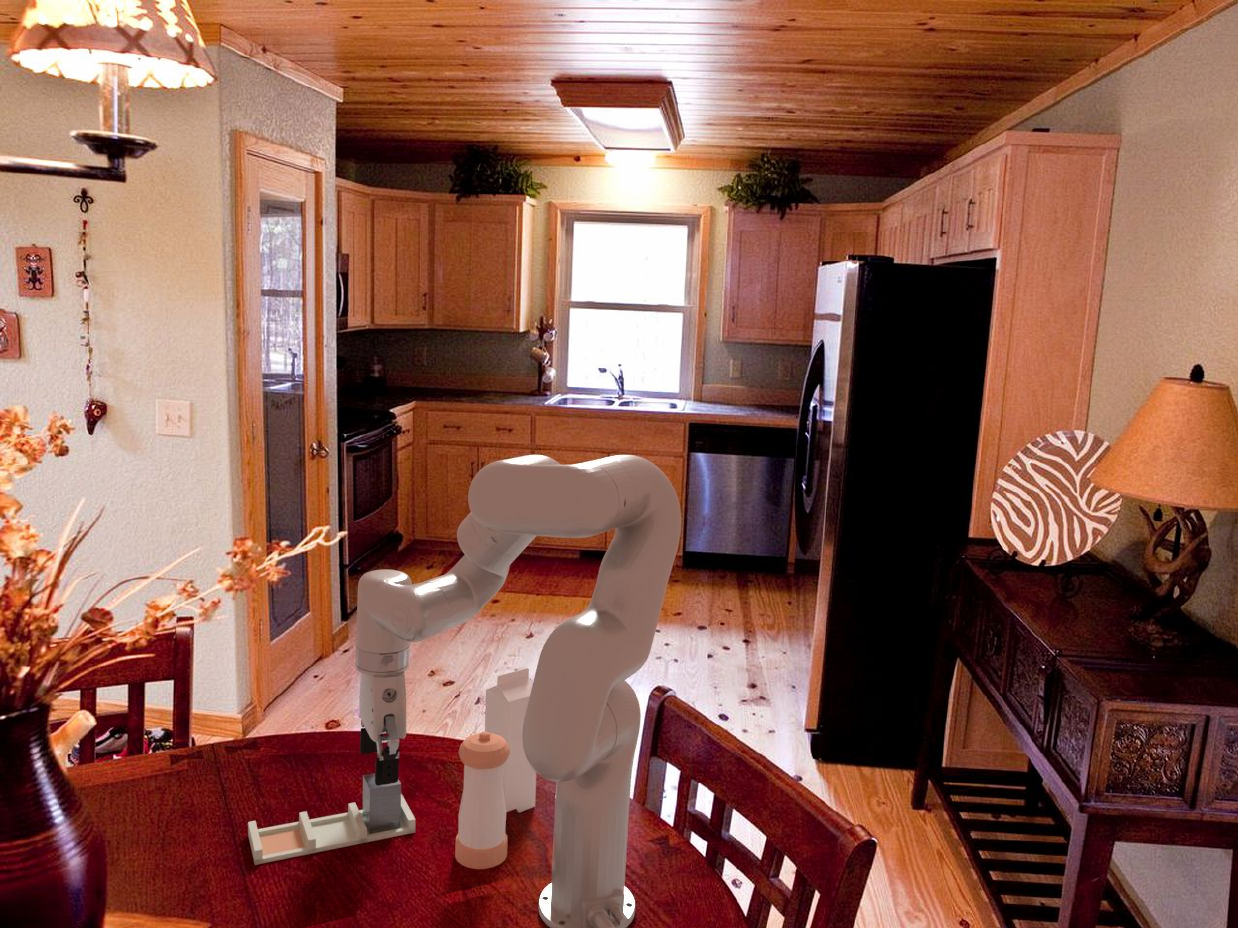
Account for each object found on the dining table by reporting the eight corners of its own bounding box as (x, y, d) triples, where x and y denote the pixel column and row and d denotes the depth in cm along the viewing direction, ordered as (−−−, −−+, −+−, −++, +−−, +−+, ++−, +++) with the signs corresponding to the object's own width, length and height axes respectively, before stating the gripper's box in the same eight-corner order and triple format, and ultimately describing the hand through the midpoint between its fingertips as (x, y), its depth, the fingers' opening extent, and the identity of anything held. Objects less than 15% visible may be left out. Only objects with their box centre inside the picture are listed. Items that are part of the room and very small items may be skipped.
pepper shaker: (457, 878, 130) (461, 745, 127) (452, 848, 137) (455, 723, 134) (510, 872, 132) (515, 742, 129) (502, 843, 139) (507, 719, 136)
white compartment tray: (415, 838, 139) (415, 819, 139) (254, 871, 129) (254, 850, 129) (401, 811, 146) (401, 793, 146) (248, 841, 136) (248, 821, 136)
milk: (535, 807, 150) (541, 673, 147) (504, 819, 146) (509, 682, 142) (512, 791, 154) (518, 661, 151) (481, 802, 150) (486, 669, 147)
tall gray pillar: (400, 828, 140) (401, 783, 139) (369, 834, 138) (369, 789, 137) (392, 813, 144) (393, 770, 143) (362, 819, 142) (363, 775, 141)
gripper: (424, 676, 131) (419, 791, 134) (393, 633, 146) (389, 738, 149) (369, 682, 128) (365, 800, 131) (343, 638, 143) (340, 744, 146)
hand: (378, 767), depth 140 cm, fingers open, 9 cm apart
